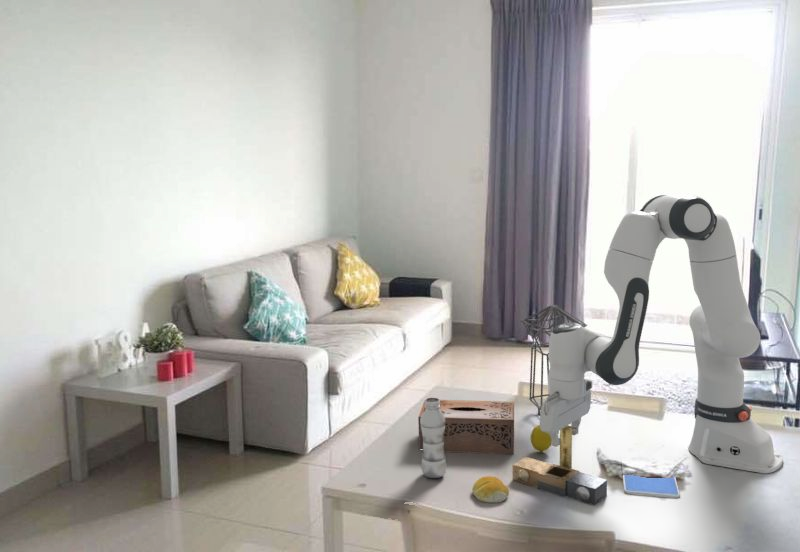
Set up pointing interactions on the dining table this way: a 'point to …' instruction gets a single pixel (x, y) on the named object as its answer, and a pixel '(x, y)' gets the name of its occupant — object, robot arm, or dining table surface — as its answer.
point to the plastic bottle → (433, 439)
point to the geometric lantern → (546, 313)
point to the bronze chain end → (541, 473)
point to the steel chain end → (580, 488)
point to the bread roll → (490, 489)
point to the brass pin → (566, 447)
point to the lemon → (540, 439)
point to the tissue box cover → (476, 426)
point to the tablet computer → (651, 486)
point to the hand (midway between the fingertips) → (565, 439)
